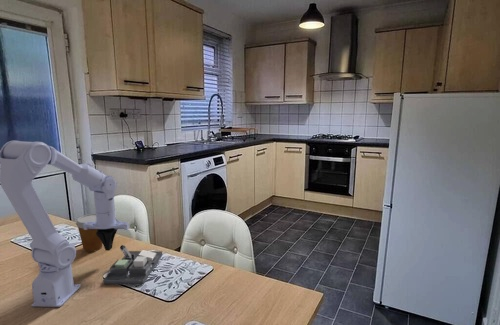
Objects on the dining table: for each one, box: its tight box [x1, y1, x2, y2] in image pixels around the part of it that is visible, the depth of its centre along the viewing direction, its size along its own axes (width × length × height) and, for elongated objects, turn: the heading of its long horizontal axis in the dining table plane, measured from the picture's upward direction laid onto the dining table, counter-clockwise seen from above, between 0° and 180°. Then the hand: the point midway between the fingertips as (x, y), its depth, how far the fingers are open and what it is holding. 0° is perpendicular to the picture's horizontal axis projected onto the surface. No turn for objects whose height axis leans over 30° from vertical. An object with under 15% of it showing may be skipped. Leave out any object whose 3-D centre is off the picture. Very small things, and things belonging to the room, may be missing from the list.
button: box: [115, 259, 129, 267], centre depth 92 cm, size 3×3×2 cm
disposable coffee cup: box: [75, 213, 103, 253], centre depth 108 cm, size 10×10×12 cm
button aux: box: [133, 256, 147, 267], centre depth 91 cm, size 3×3×2 cm
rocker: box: [138, 249, 156, 260], centre depth 98 cm, size 4×5×1 cm
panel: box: [103, 250, 163, 286], centre depth 95 cm, size 18×12×3 cm
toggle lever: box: [119, 244, 132, 257], centre depth 97 cm, size 2×2×5 cm
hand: (108, 249), depth 97 cm, fingers closed
